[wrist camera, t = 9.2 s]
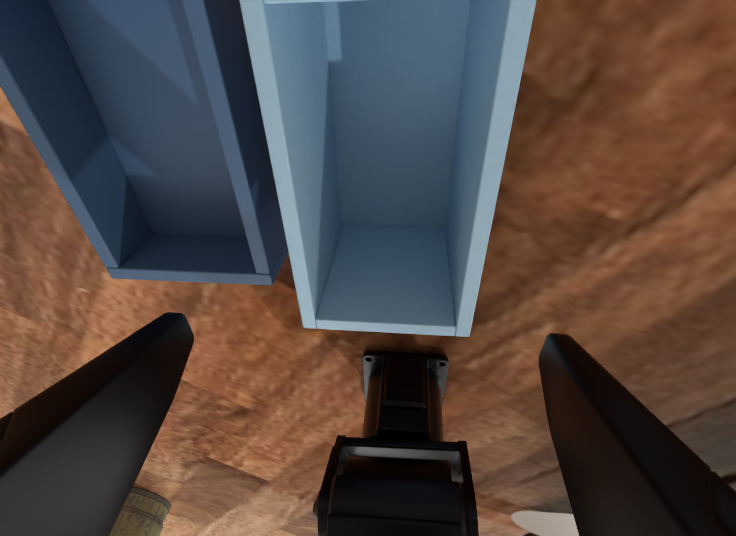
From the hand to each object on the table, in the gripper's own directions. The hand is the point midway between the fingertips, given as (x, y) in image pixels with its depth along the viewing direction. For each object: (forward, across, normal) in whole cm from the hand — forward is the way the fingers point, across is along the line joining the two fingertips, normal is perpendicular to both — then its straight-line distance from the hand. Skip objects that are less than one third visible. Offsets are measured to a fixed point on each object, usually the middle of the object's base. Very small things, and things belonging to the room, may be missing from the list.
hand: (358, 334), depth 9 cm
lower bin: (+12, +11, -1) cm, 16 cm away
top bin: (+12, 0, -1) cm, 13 cm away
